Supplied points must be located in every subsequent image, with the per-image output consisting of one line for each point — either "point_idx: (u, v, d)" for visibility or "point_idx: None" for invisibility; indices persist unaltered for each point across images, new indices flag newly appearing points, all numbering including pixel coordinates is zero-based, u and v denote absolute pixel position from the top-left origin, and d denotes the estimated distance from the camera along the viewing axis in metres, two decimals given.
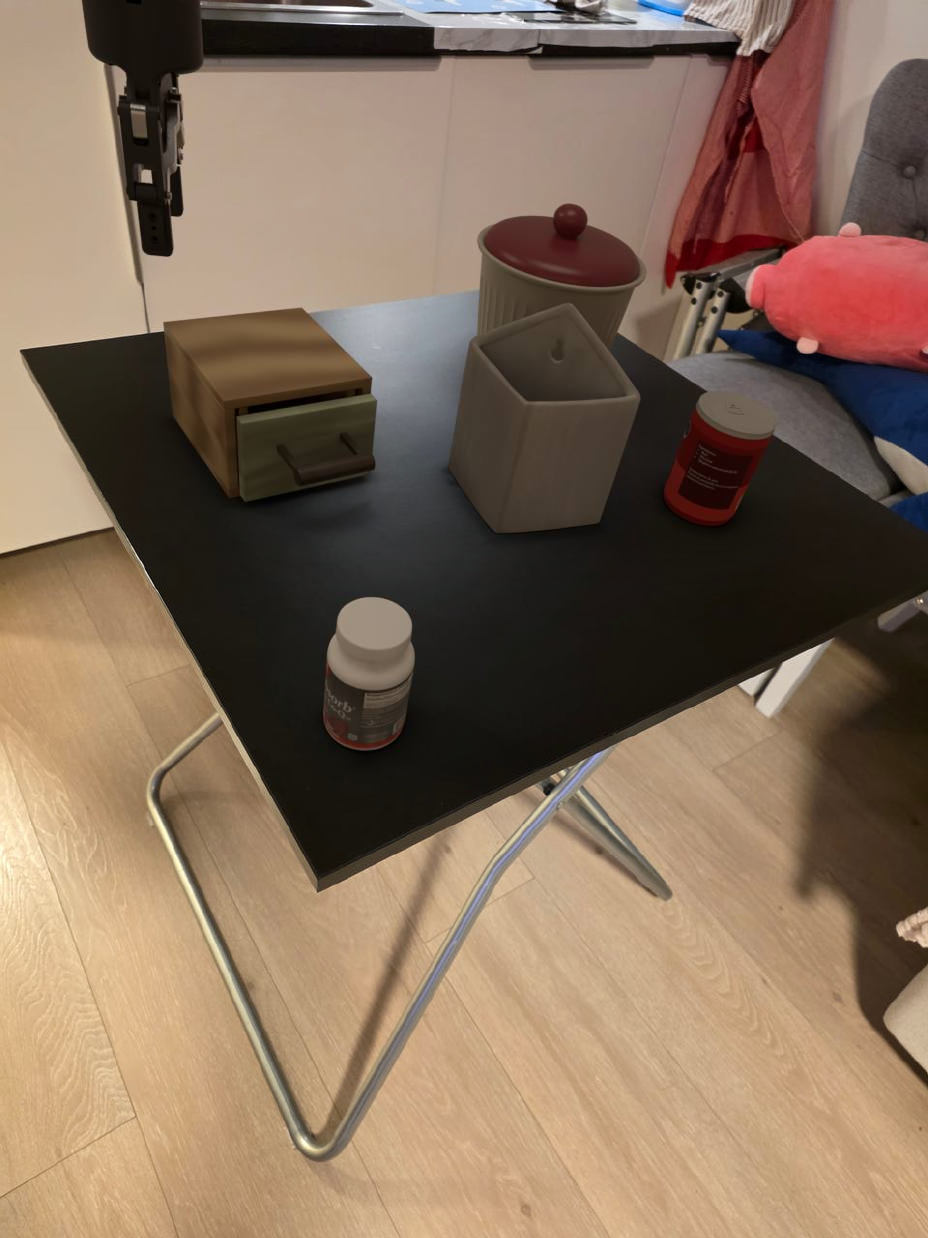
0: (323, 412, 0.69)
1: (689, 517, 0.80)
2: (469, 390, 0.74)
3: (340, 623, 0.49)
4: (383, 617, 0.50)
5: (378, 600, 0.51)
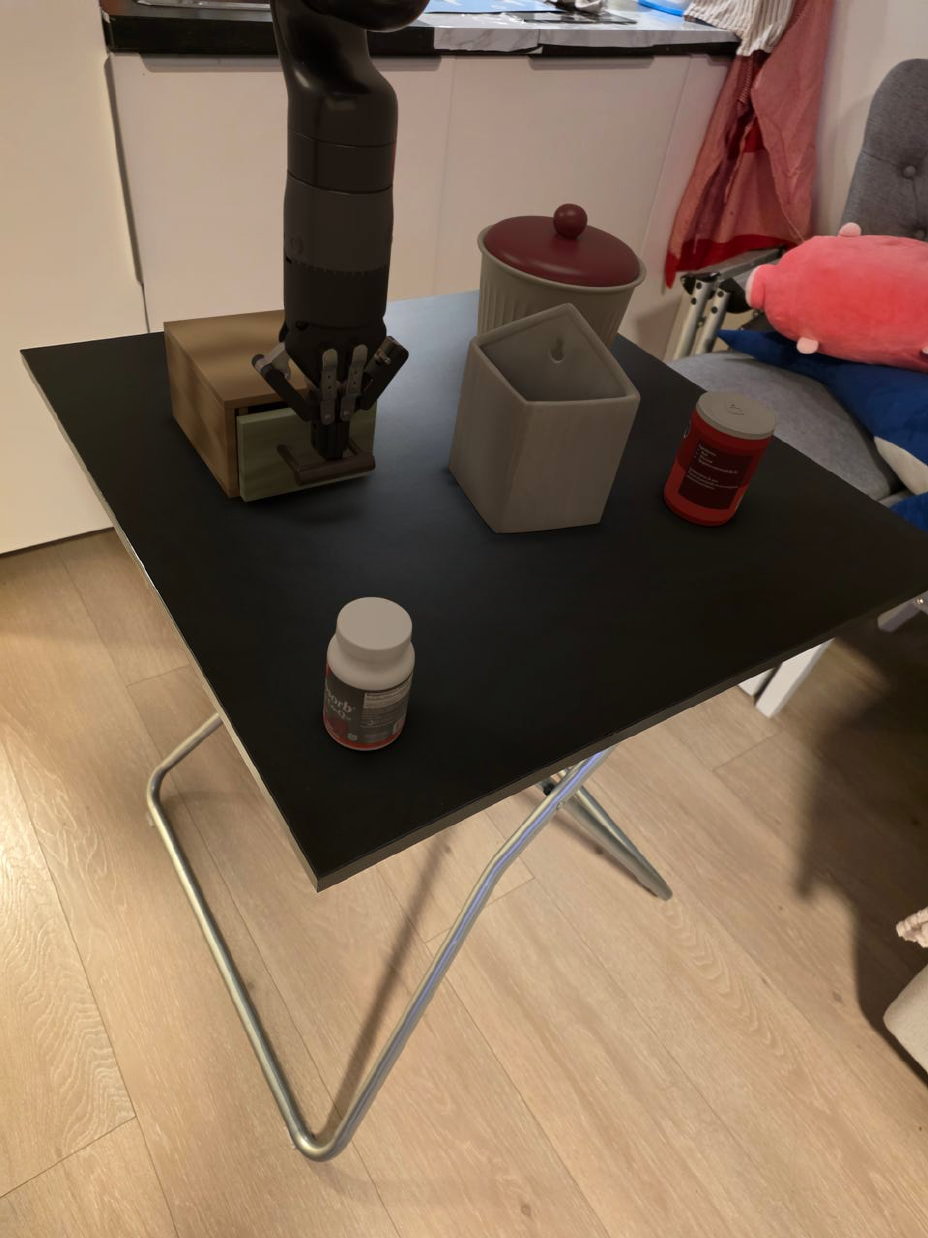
0: None
1: (689, 517, 0.80)
2: (469, 390, 0.74)
3: (340, 623, 0.49)
4: (383, 617, 0.50)
5: (378, 600, 0.51)
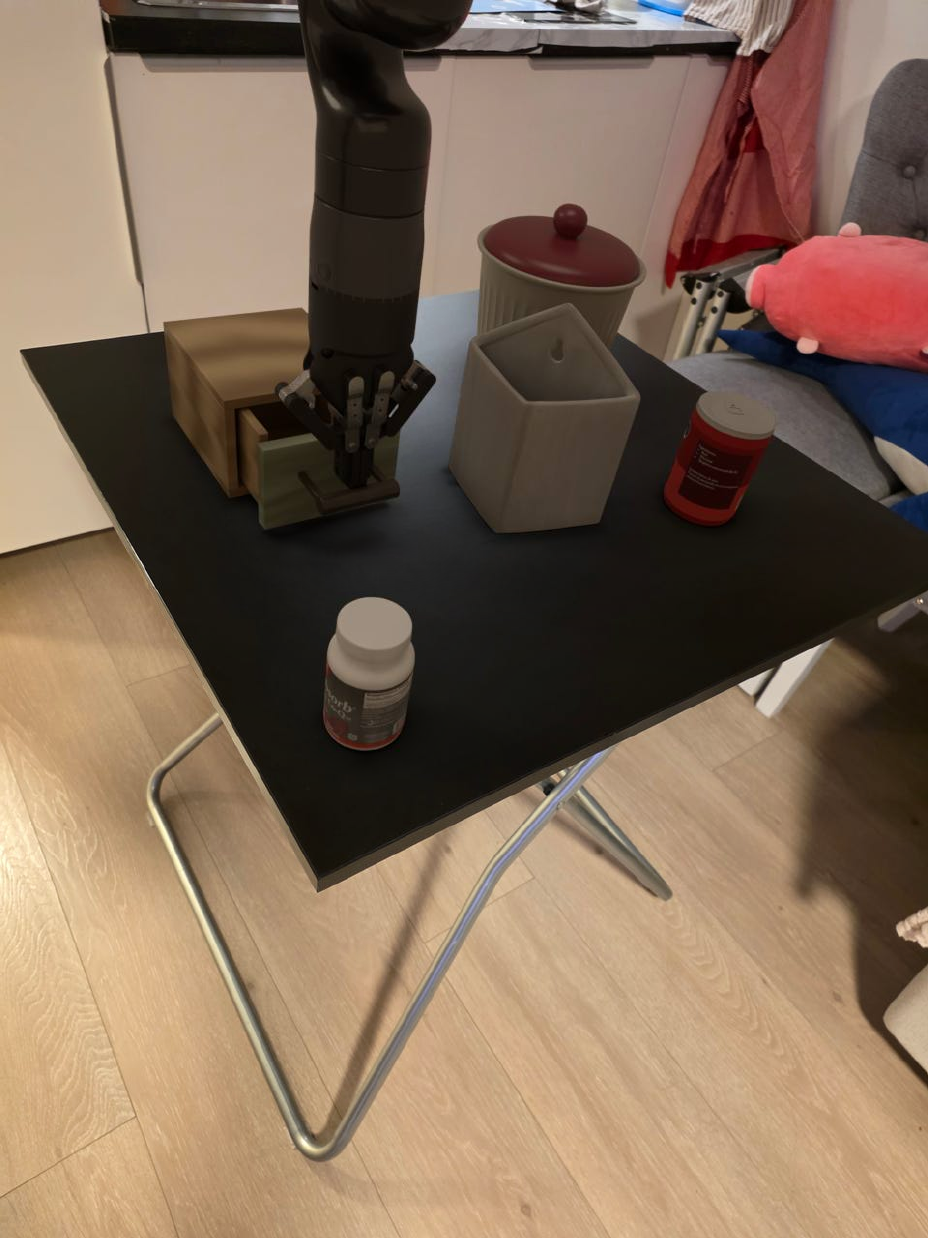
0: None
1: (689, 517, 0.80)
2: (469, 390, 0.74)
3: (340, 623, 0.49)
4: (383, 617, 0.50)
5: (378, 600, 0.51)
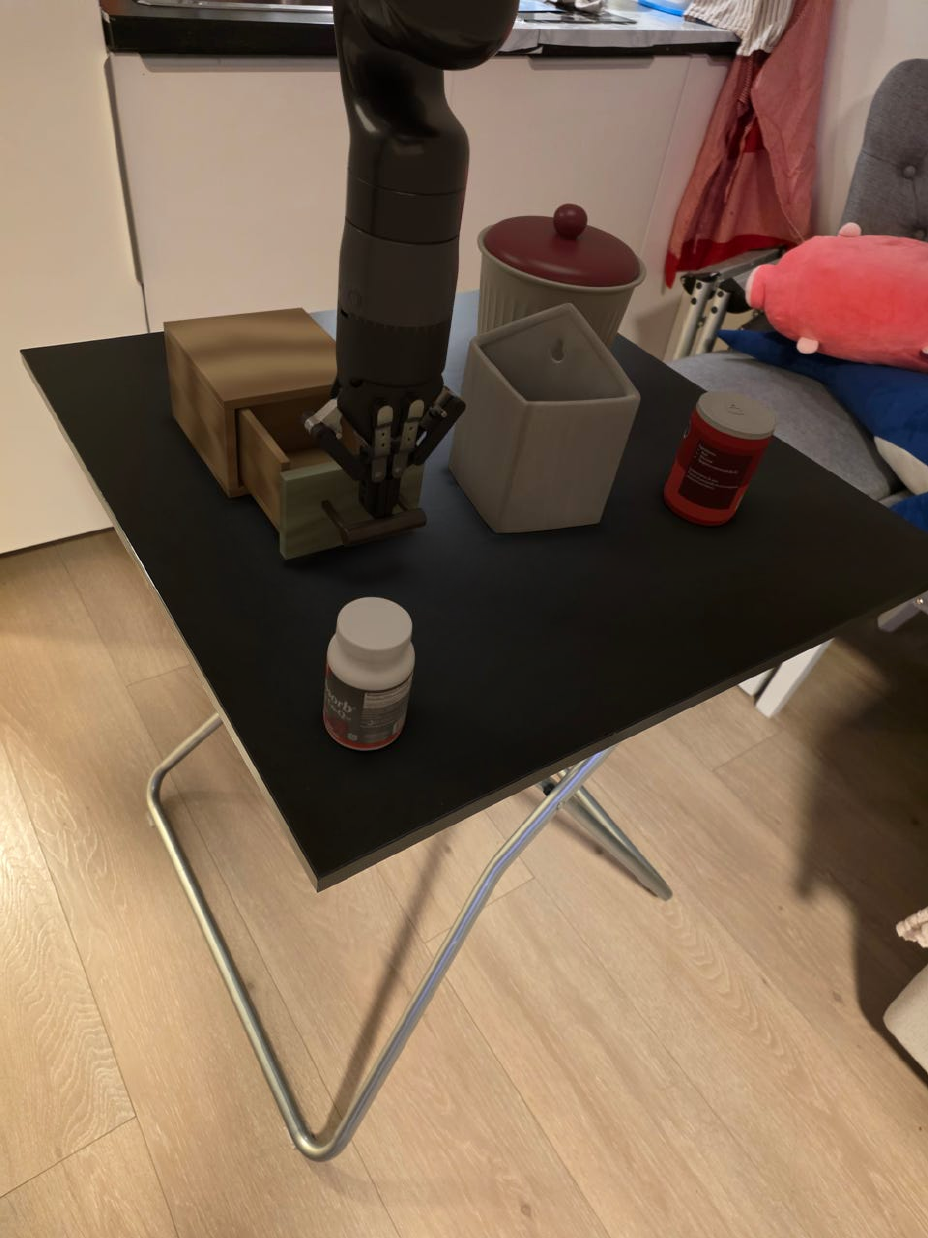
0: None
1: (689, 517, 0.80)
2: (469, 390, 0.74)
3: (340, 623, 0.49)
4: (383, 617, 0.50)
5: (378, 600, 0.51)
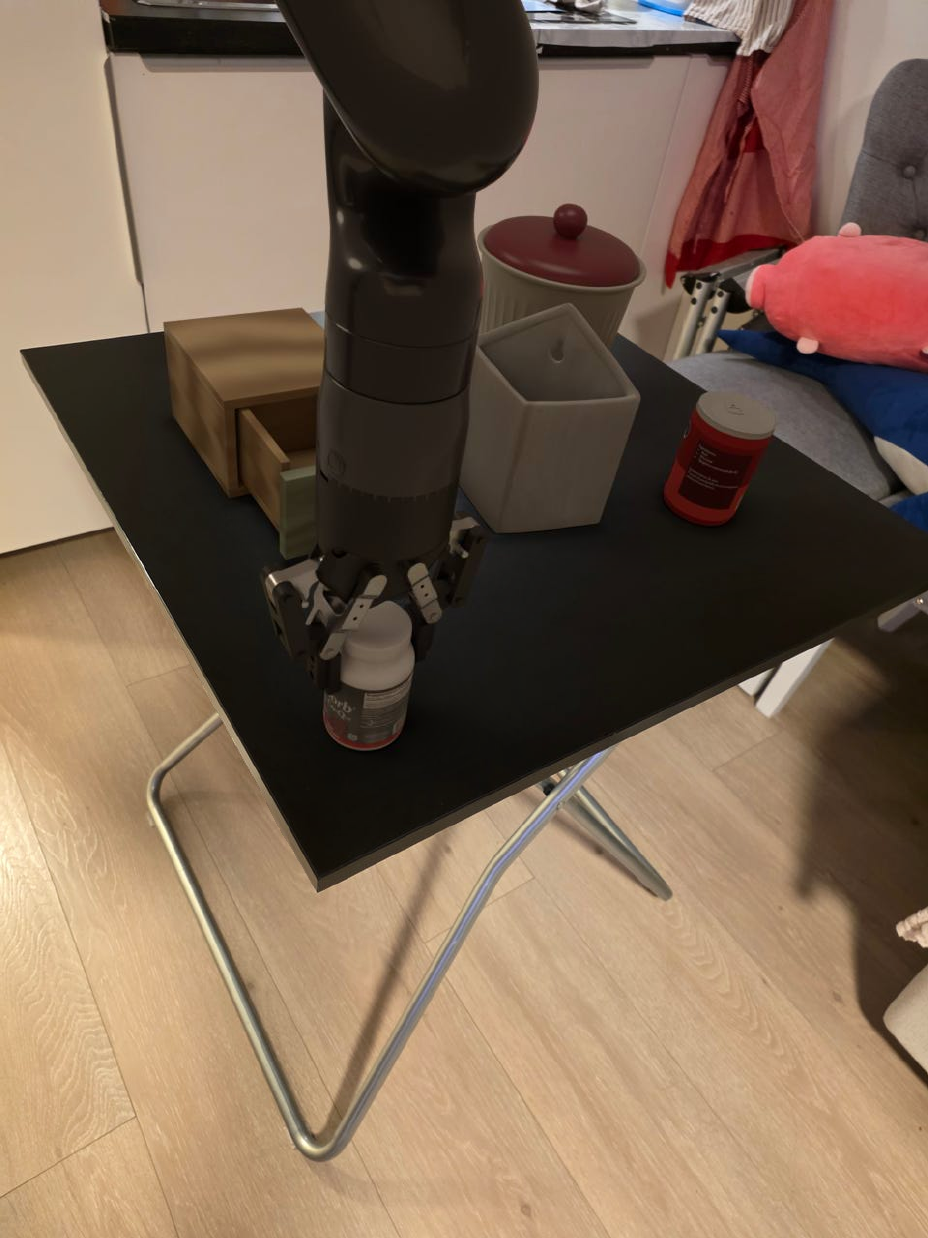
0: None
1: (689, 517, 0.80)
2: None
3: None
4: (383, 617, 0.50)
5: None
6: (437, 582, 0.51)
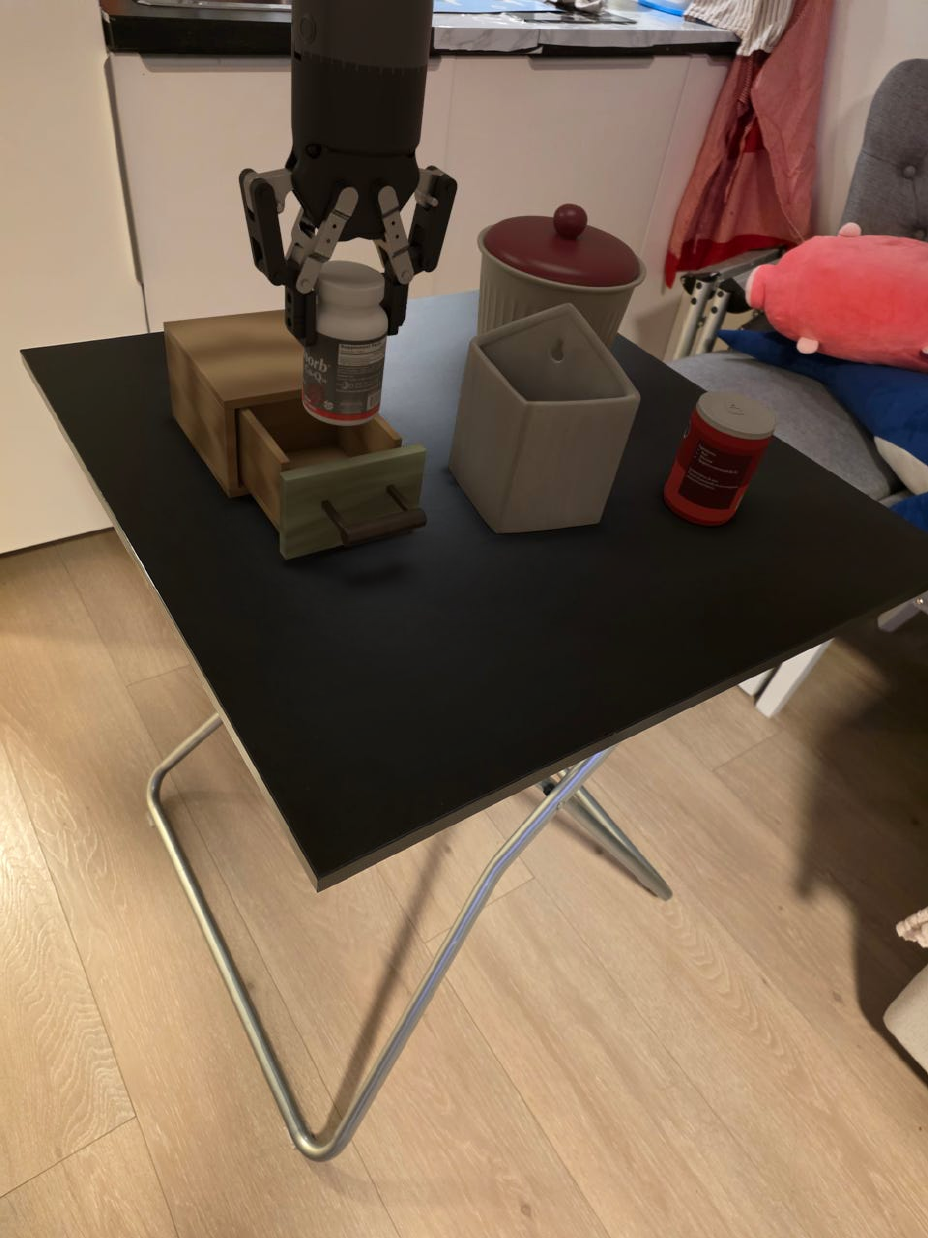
0: (370, 465, 0.64)
1: (689, 517, 0.80)
2: (469, 390, 0.74)
3: None
4: (358, 272, 0.53)
5: (354, 263, 0.54)
6: (410, 248, 0.54)
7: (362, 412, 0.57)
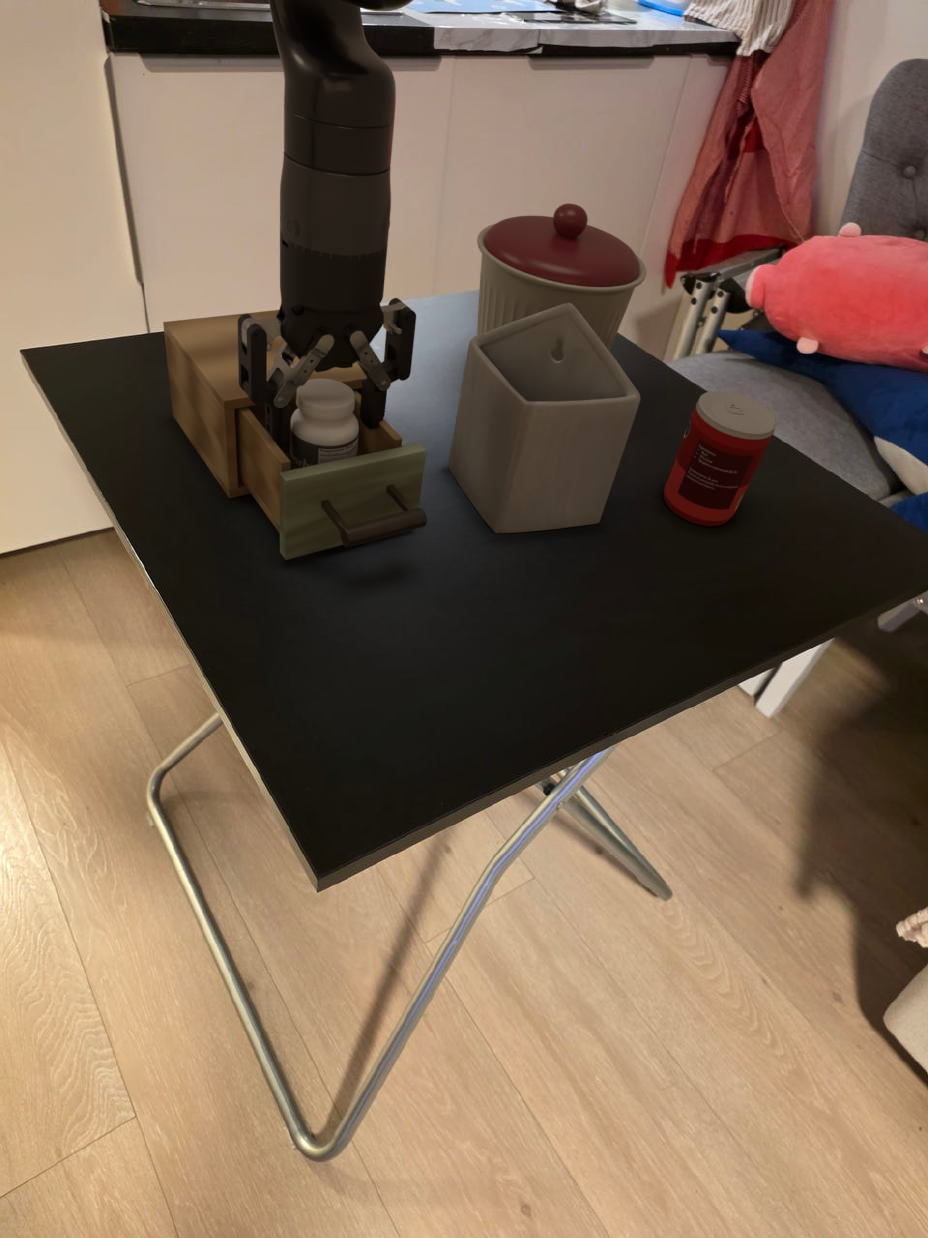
0: (370, 465, 0.64)
1: (689, 517, 0.80)
2: (469, 390, 0.74)
3: (299, 391, 0.64)
4: (333, 390, 0.65)
5: (329, 380, 0.66)
6: (387, 360, 0.67)
7: None
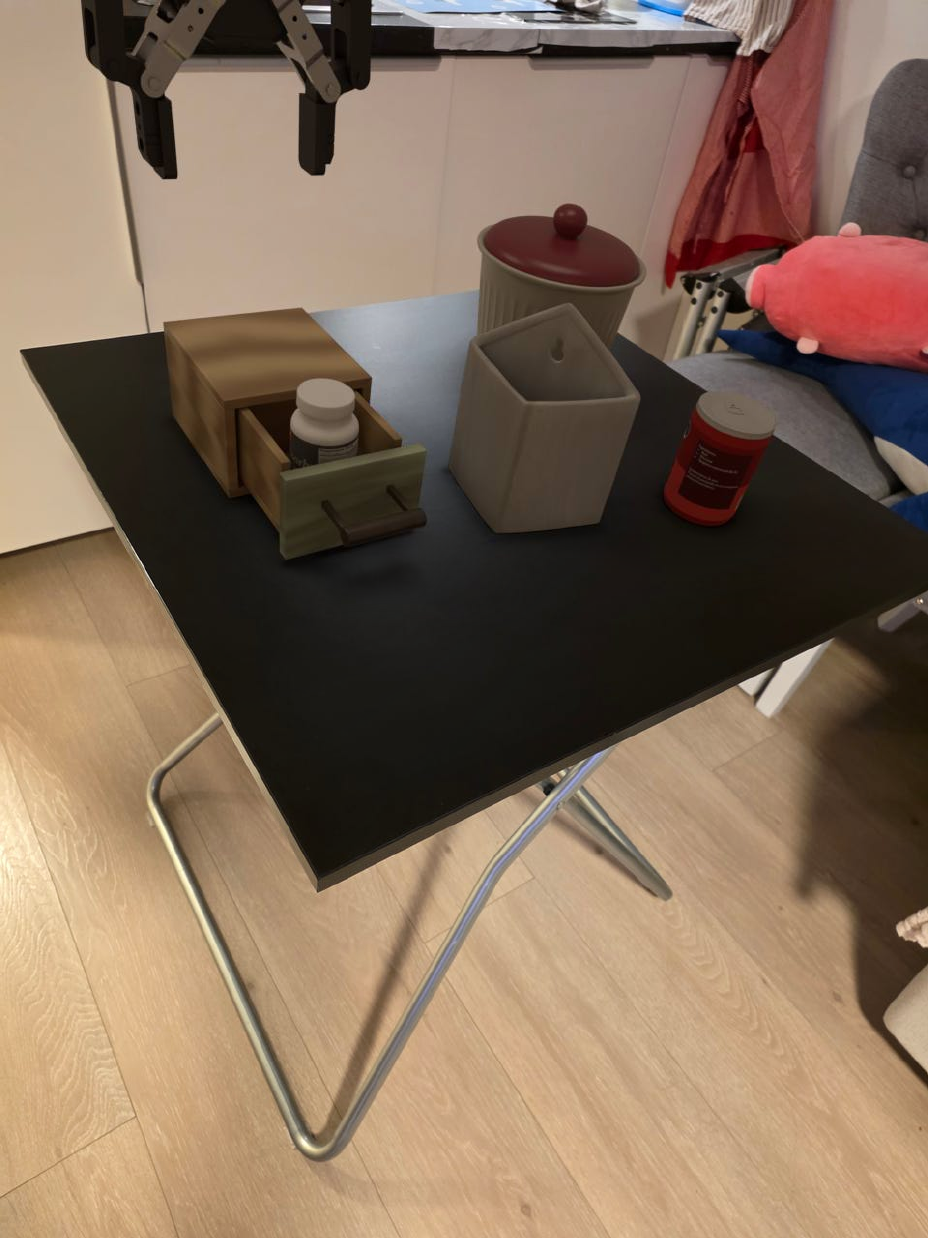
0: (370, 465, 0.64)
1: (689, 517, 0.80)
2: (469, 390, 0.74)
3: (299, 391, 0.64)
4: (333, 390, 0.65)
5: (329, 380, 0.66)
6: (336, 60, 0.44)
7: None
